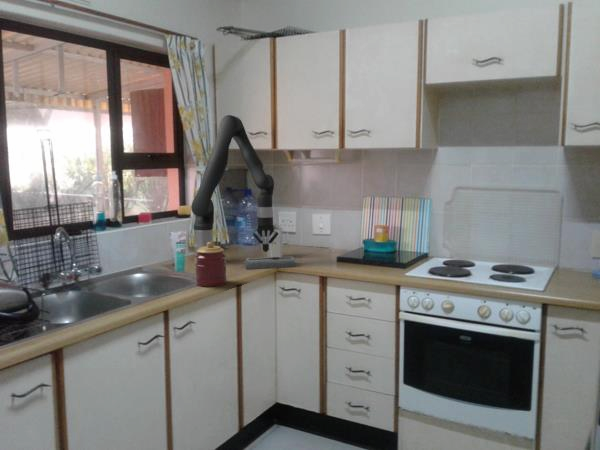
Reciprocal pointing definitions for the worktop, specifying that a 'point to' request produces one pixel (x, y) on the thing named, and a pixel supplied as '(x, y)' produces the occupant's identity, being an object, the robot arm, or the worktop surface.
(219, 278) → the canister
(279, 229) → the milk carton
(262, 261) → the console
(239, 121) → the robot arm
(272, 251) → the fader tab
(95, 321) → the worktop surface
